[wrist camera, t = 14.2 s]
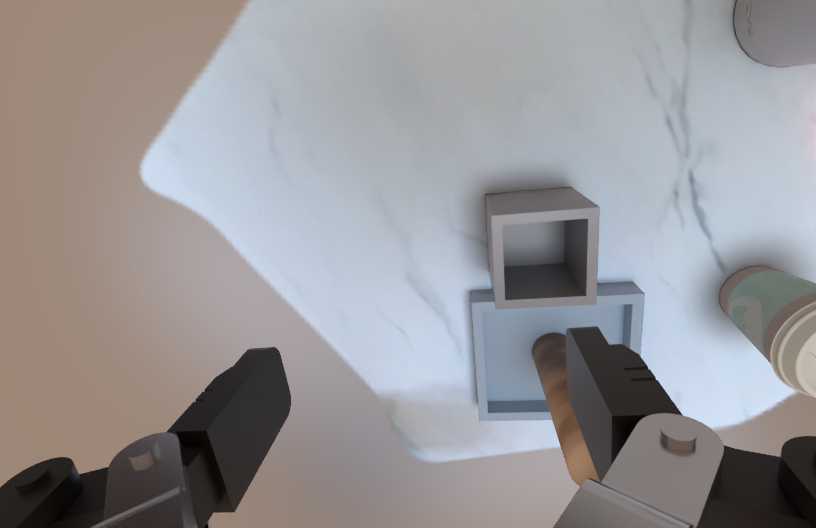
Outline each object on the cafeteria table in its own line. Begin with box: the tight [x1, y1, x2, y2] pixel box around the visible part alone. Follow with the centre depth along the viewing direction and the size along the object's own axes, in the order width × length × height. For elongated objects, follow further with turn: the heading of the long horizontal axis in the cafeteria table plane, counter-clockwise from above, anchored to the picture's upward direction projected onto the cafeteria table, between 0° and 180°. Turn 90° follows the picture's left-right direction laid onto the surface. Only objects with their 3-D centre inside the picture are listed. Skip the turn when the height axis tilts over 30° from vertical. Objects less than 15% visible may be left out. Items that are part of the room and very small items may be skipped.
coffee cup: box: [719, 266, 816, 398], centre depth 38 cm, size 8×9×12 cm
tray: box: [471, 282, 645, 421], centre depth 46 cm, size 16×14×3 cm
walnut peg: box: [532, 332, 600, 486], centre depth 39 cm, size 4×4×16 cm
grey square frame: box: [485, 187, 600, 310], centre depth 39 cm, size 8×8×9 cm
